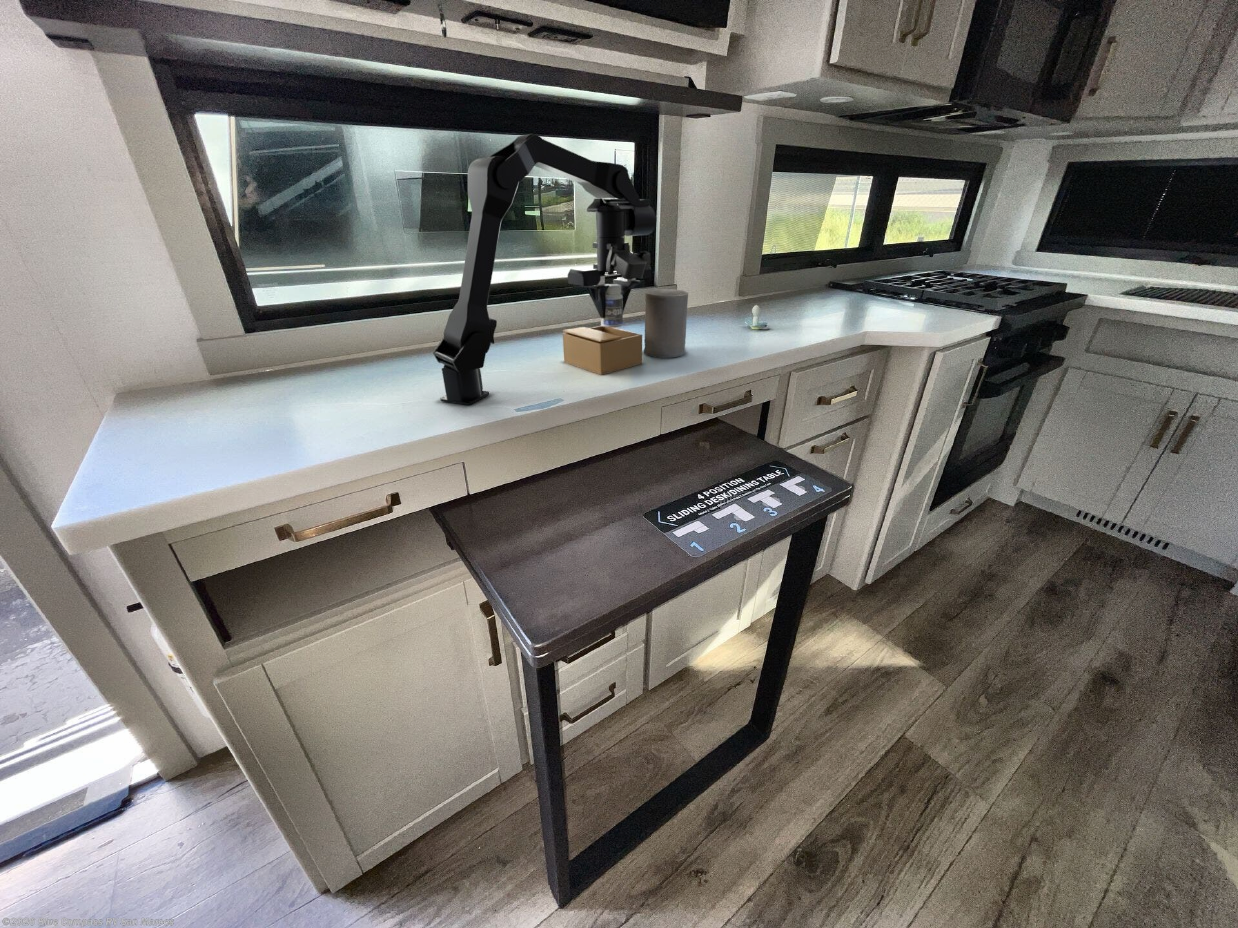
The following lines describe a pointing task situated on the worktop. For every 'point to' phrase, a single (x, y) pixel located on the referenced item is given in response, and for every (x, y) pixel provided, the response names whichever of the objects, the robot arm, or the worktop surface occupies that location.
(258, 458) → the worktop surface
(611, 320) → the pill bottle
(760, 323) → the pacifier
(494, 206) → the robot arm
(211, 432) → the worktop surface
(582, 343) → the carton
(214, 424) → the worktop surface
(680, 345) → the pillar candle
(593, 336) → the flap
